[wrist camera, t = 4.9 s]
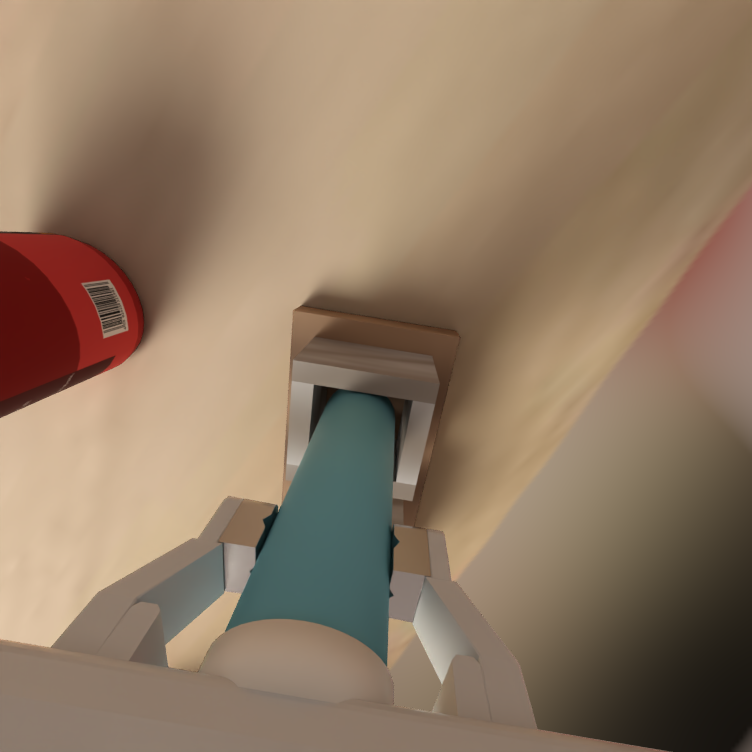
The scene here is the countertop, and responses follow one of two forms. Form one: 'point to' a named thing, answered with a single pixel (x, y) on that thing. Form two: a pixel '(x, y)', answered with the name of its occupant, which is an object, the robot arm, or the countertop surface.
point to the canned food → (60, 316)
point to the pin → (323, 569)
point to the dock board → (371, 387)
